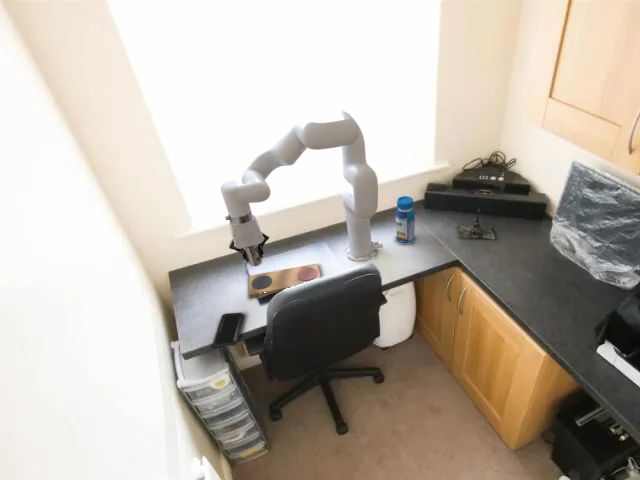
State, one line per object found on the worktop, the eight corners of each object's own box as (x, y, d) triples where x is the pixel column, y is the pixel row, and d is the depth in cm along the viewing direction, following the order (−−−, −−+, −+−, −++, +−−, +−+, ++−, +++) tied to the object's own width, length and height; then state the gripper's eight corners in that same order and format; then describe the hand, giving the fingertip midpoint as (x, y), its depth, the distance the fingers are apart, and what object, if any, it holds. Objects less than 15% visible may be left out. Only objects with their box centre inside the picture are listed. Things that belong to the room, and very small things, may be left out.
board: (318, 266, 172) (317, 262, 171) (321, 284, 164) (321, 280, 162) (250, 278, 168) (249, 275, 167) (250, 297, 159) (248, 294, 158)
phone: (243, 312, 151) (235, 343, 140) (244, 314, 152) (236, 345, 141) (222, 313, 151) (211, 344, 140) (223, 316, 152) (213, 347, 141)
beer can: (259, 267, 155) (251, 241, 147) (247, 266, 156) (238, 240, 148) (264, 260, 159) (256, 234, 151) (252, 259, 159) (244, 233, 152)
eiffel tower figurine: (491, 226, 189) (495, 200, 180) (494, 239, 182) (499, 212, 173) (458, 226, 190) (461, 200, 181) (460, 239, 183) (462, 212, 174)
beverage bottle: (416, 243, 181) (417, 203, 168) (397, 246, 181) (396, 205, 167) (413, 233, 188) (413, 193, 174) (394, 235, 187) (393, 195, 174)
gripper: (217, 227, 139) (232, 269, 151) (267, 215, 143) (278, 257, 155) (215, 217, 144) (230, 258, 156) (263, 205, 149) (274, 246, 161)
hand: (254, 257), depth 155 cm, fingers closed on beer can, 4 cm apart
